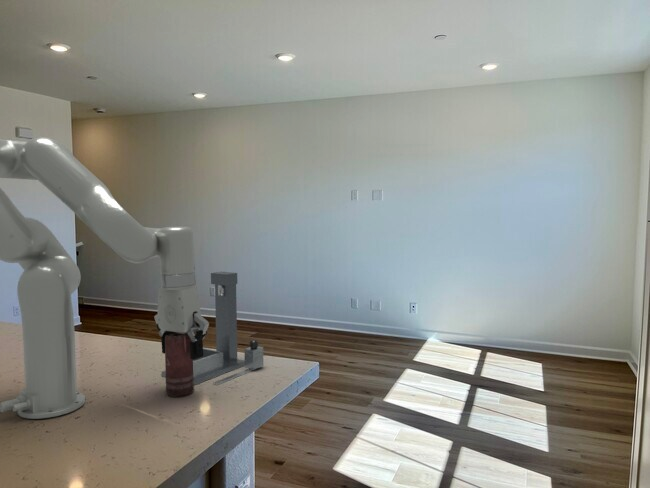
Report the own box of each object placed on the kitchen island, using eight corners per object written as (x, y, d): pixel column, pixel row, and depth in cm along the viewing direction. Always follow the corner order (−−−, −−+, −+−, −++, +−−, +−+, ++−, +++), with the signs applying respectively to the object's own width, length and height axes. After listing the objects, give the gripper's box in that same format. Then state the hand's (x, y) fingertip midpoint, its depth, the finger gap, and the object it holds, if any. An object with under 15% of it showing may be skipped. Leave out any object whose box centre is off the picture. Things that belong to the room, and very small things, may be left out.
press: (207, 389, 112) (205, 283, 110) (161, 376, 121) (159, 278, 119) (260, 367, 128) (259, 274, 126) (216, 357, 137) (215, 270, 135)
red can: (177, 400, 105) (176, 337, 104) (160, 393, 109) (159, 333, 108) (200, 391, 110) (198, 332, 109) (183, 386, 114) (181, 328, 113)
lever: (253, 369, 124) (252, 342, 123) (244, 367, 125) (244, 340, 125) (263, 365, 127) (263, 338, 127) (255, 363, 129) (254, 337, 128)
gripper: (140, 281, 110) (144, 354, 111) (191, 285, 100) (195, 365, 101) (167, 276, 116) (171, 345, 117) (217, 280, 106) (221, 355, 108)
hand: (182, 354), depth 109 cm, fingers open, 9 cm apart
